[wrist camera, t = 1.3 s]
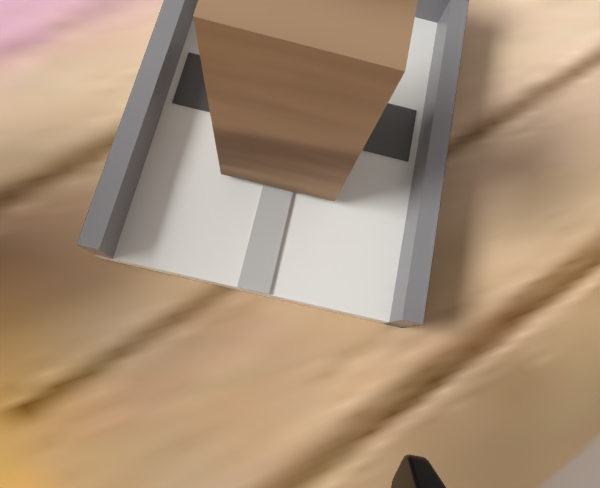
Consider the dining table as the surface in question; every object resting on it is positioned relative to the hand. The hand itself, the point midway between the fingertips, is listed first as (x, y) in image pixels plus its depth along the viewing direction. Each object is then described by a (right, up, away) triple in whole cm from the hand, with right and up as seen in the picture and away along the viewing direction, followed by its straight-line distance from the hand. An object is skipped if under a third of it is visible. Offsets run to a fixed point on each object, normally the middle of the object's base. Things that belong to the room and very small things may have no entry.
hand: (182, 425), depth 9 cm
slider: (+2, +9, +15) cm, 17 cm away
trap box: (+2, +10, +17) cm, 20 cm away
